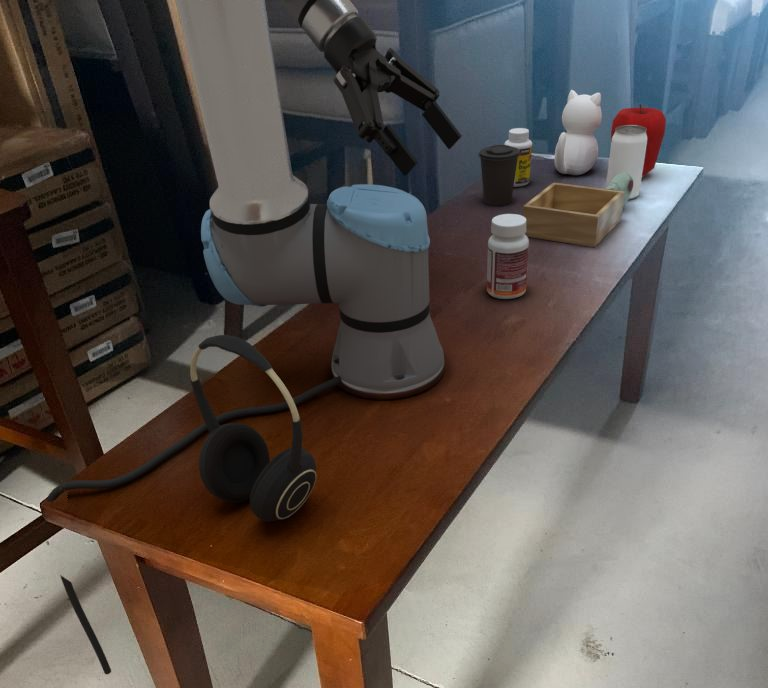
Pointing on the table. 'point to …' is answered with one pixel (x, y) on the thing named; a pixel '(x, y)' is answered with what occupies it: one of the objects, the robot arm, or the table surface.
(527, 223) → the holder
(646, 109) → the apple
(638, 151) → the can
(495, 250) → the pill bottle
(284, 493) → the headphones
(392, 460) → the table surface
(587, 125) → the cat figurine
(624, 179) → the green rounded faceted piece
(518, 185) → the supplement bottle
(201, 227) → the robot arm
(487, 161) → the coffee cup
